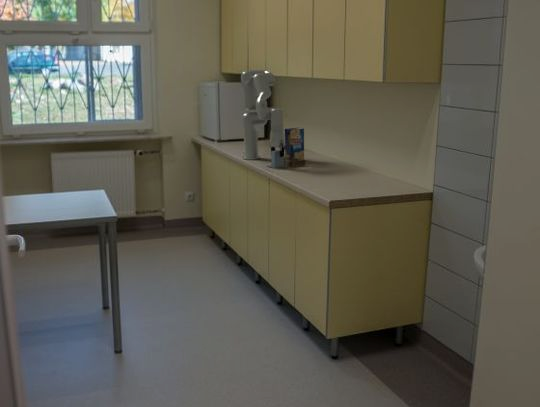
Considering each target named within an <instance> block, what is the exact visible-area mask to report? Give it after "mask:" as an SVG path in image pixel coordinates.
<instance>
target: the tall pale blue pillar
mask: <svg viewBox="0 0 540 407" xmlns="http://www.w3.org/2000/svg"><path fill="white" fill-rule="evenodd" d="M270 156H271V157H270V158H271V159H270V160H271V161H270V162H271V165H272V167H274V168H276V167H283V166H284V157H280V149H278V150H276V151H271V150H270ZM274 168H273V169H274Z"/></svg>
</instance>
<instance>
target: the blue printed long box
mask: <svg viewBox="0 0 540 407" xmlns="http://www.w3.org/2000/svg"><path fill="white" fill-rule="evenodd" d="M284 142H285V144H286V147H285V150H284V156H285V157H293V158H298V159H303V160H305V129H304V127H290V128H284Z"/></svg>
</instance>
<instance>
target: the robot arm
mask: <svg viewBox="0 0 540 407" xmlns="http://www.w3.org/2000/svg"><path fill="white" fill-rule="evenodd" d="M240 82H241V86H242V90H243V91H242V92H243V94H242V95H243V107H244V109H245V110H247V111H248V112H245V113H243V114H242V115H241V121H242V127H243V143H244V144H243V145H244V147H243V149H244V151H243V156H242V158H241V159H243V160H251V161H252V160H259V159H261V158H262V157H261V155H259V134H258V130H257V129H256V128H255V127H260V126H265V125H266V124H267V123H268V121H269V120H270V134H269V141H268V143H269V148H270V152H271V151H277V150H276V148H279V149H278V150H280V157H284V156H285V147H286V144H285V133H284V110H283V108H279V107H268V101H267V99H269V98H270V97H271V96H272V91H271V87H273V86H275V85H276V77H275V75H274V74H273V73H272V72H271V71H268V70H266V69H254V70H253V69H249V70H244V71H243V72H242V73H241V75H240Z"/></svg>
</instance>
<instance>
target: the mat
mask: <svg viewBox="0 0 540 407" xmlns="http://www.w3.org/2000/svg"><path fill="white" fill-rule="evenodd" d="M266 167H267V168H270V167H271V169H274V167H272V164H270V165H267V166H266ZM281 168H284V169H289V168H290V167H287V166H283V167H276V168H275V170H282V169H281Z"/></svg>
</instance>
